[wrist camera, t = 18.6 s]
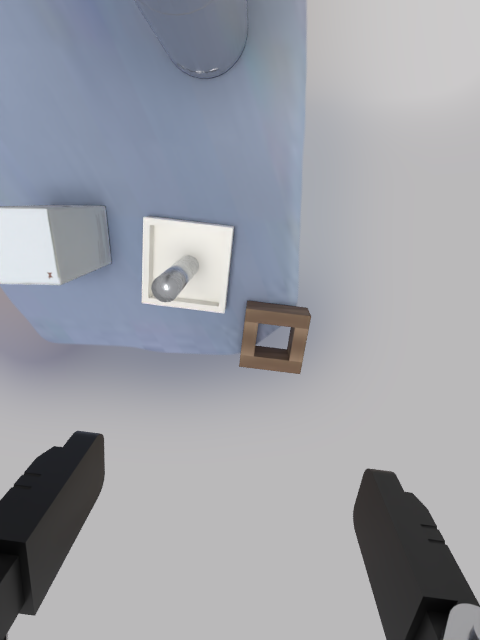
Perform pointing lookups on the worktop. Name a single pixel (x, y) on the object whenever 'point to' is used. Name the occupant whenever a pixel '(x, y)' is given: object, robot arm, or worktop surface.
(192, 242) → the tray
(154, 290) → the cylinder
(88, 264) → the supplement box
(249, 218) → the worktop surface
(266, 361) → the bore block
